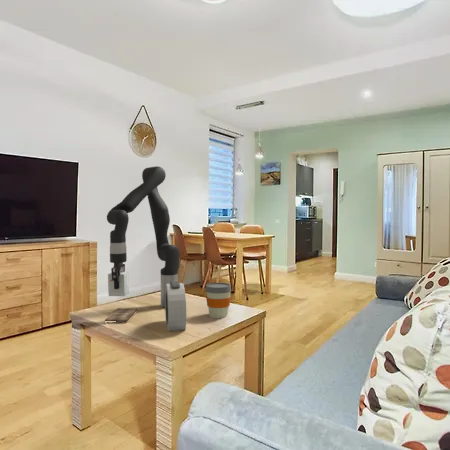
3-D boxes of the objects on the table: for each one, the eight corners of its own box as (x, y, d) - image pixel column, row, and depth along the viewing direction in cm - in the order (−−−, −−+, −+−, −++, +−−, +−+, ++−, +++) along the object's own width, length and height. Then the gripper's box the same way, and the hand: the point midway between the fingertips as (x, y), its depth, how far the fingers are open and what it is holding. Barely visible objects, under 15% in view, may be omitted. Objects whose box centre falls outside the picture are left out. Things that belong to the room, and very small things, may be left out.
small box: (129, 293, 171) (128, 272, 171) (124, 296, 166) (124, 274, 165) (113, 293, 172) (112, 271, 172) (108, 296, 166) (107, 273, 166)
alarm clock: (165, 319, 169) (164, 278, 168) (181, 318, 170) (180, 277, 170) (168, 334, 148) (168, 287, 147) (186, 332, 150) (186, 286, 149)
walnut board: (137, 311, 183) (137, 308, 183) (126, 322, 164) (126, 319, 164) (117, 311, 183) (117, 308, 183) (104, 323, 164) (104, 319, 164)
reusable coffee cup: (228, 319, 168) (228, 288, 167) (202, 318, 170) (202, 287, 170) (233, 312, 180) (233, 282, 180) (209, 311, 183) (209, 282, 182)
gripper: (121, 253, 161) (122, 290, 162) (130, 250, 175) (130, 284, 176) (105, 253, 161) (105, 291, 162) (114, 250, 175) (115, 284, 176)
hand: (118, 287), depth 169 cm, fingers closed on small box, 6 cm apart
